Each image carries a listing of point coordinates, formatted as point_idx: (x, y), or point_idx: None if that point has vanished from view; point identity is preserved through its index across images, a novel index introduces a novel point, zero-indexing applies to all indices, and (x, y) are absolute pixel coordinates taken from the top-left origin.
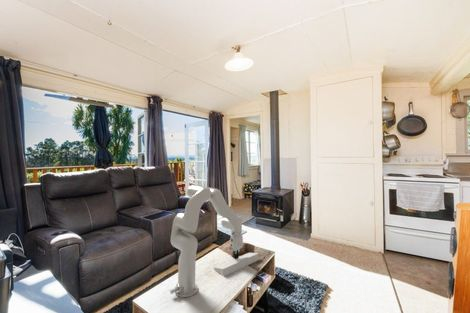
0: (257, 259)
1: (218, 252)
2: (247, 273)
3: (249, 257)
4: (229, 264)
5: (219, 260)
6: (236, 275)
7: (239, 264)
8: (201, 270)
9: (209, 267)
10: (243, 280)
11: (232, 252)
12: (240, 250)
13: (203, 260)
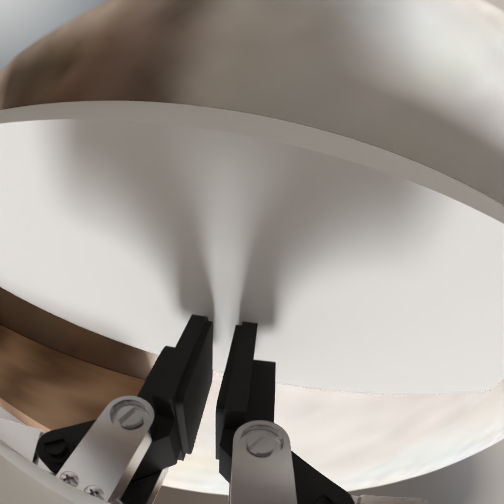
0: (11, 108)
1: (198, 480)
2: (384, 6)
3: (51, 119)
4: (491, 302)
5: (312, 444)
6: (498, 121)
7: (386, 161)
8: (492, 412)
9: (454, 416)
10: (500, 26)
11: (386, 498)
12: (33, 372)
13: (370, 482)
